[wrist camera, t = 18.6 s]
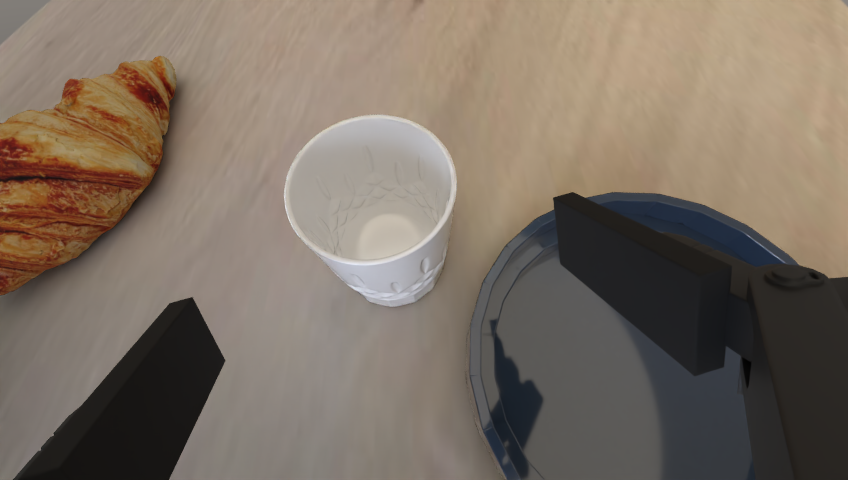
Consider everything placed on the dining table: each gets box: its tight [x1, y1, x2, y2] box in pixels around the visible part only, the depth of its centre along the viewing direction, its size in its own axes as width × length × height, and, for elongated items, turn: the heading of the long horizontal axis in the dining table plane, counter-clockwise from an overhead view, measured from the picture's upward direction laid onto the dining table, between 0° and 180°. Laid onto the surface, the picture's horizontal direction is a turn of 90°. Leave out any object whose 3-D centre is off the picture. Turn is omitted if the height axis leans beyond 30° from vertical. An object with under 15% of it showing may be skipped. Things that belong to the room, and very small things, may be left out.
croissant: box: [0, 56, 176, 295], centre depth 28 cm, size 21×10×8 cm, turn 163°
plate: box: [466, 192, 799, 480], centre depth 22 cm, size 20×20×4 cm
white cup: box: [284, 114, 457, 307], centre depth 23 cm, size 8×8×10 cm
